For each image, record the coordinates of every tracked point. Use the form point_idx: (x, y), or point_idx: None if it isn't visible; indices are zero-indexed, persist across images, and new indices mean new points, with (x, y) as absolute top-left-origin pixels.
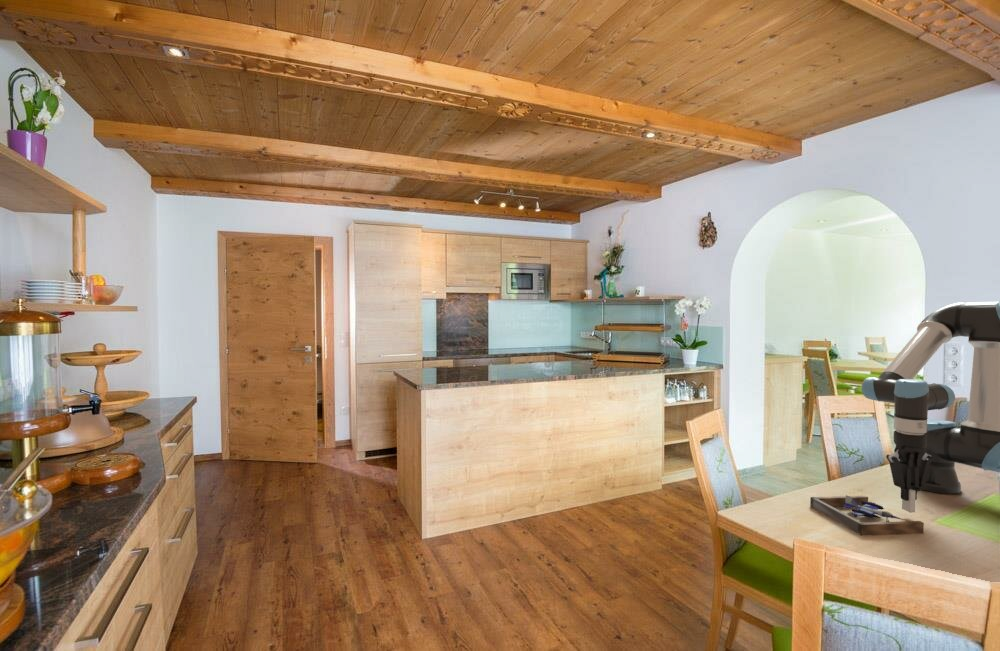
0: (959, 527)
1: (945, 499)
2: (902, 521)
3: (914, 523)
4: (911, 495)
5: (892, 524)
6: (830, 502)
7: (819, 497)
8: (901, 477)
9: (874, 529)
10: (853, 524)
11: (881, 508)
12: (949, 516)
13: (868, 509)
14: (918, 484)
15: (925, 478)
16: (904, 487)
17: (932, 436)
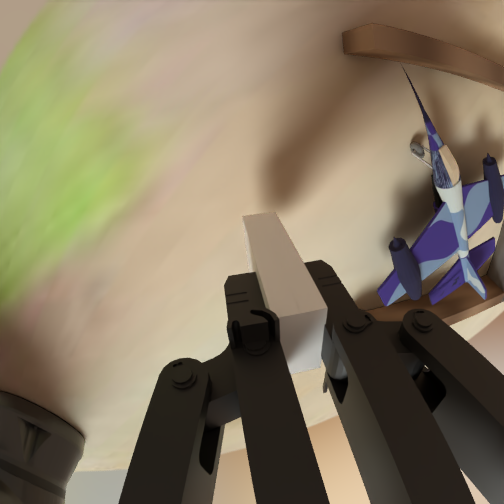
0: (68, 124)
1: (18, 374)
2: (458, 66)
3: (419, 35)
4: (303, 279)
5: (496, 64)
6: (469, 295)
7: (494, 302)
8: (489, 389)
9: None
10: None
11: (403, 239)
12: (42, 256)
13: (464, 220)
14: (240, 384)
15: (142, 461)
16: (403, 320)
17: None
